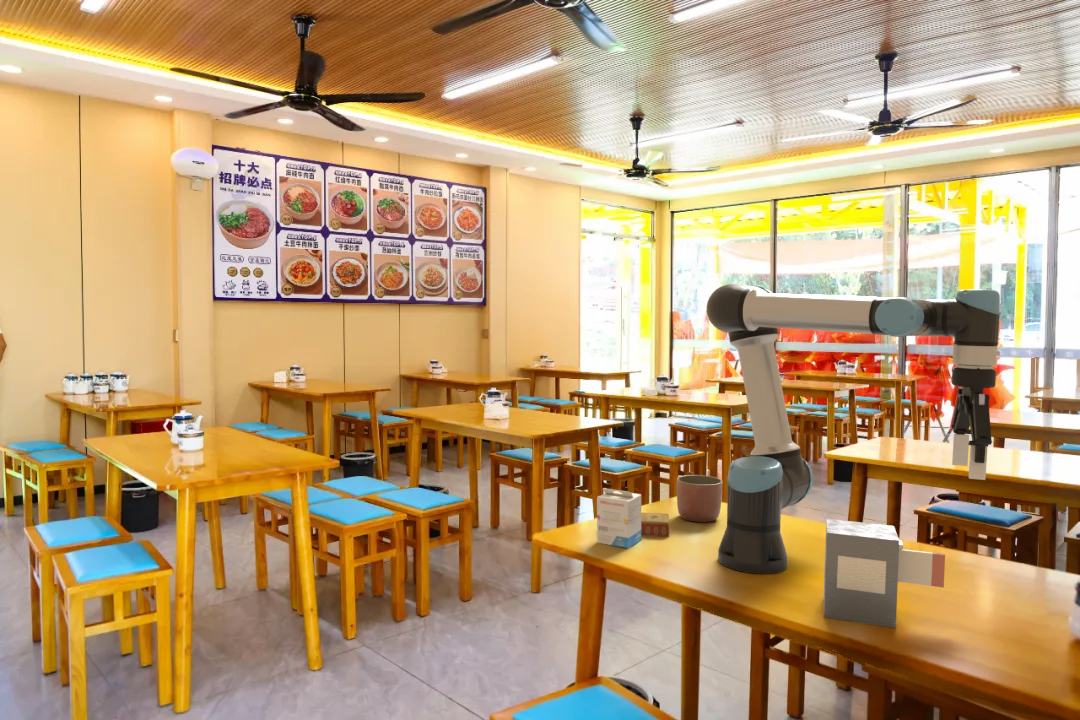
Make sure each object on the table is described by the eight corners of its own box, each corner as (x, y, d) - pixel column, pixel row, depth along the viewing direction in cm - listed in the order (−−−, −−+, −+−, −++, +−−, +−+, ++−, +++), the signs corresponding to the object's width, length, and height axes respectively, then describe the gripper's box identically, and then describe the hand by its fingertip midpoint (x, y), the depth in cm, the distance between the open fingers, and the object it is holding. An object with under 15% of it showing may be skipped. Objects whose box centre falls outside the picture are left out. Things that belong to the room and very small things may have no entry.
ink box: (642, 540, 178) (643, 487, 177) (627, 549, 170) (628, 494, 170) (611, 534, 182) (612, 482, 181) (595, 542, 175) (596, 489, 174)
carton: (669, 538, 181) (669, 521, 180) (605, 534, 183) (606, 518, 183) (668, 528, 189) (668, 512, 188) (607, 525, 191) (607, 509, 191)
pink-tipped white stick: (836, 573, 136) (837, 542, 135) (836, 572, 136) (837, 541, 136) (943, 587, 129) (945, 555, 129) (943, 586, 130) (944, 554, 129)
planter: (676, 523, 193) (677, 483, 192) (675, 511, 205) (676, 473, 204) (723, 526, 191) (724, 485, 190) (719, 513, 203) (720, 475, 202)
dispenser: (824, 617, 132) (827, 532, 131) (823, 597, 142) (826, 518, 141) (902, 629, 127) (905, 541, 127) (896, 608, 137) (899, 526, 136)
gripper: (1015, 372, 129) (1008, 487, 131) (978, 364, 153) (973, 461, 154) (968, 370, 132) (962, 483, 133) (939, 362, 155) (934, 458, 157)
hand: (967, 472), depth 144 cm, fingers open, 13 cm apart
